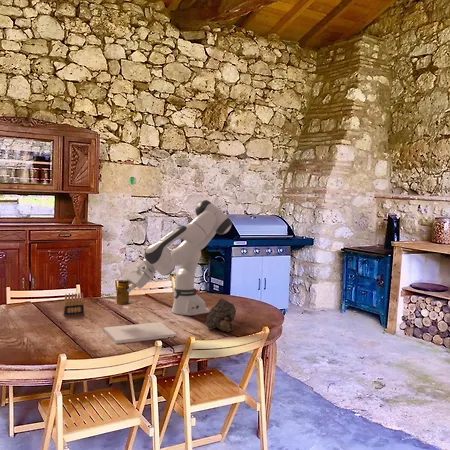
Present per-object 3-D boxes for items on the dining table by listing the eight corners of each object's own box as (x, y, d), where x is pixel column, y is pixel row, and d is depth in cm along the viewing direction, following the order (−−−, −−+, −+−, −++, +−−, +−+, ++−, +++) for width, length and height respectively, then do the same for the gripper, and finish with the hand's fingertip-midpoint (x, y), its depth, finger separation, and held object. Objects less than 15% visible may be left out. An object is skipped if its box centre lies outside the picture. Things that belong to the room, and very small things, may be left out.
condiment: (113, 303, 246) (113, 280, 245) (126, 301, 253) (127, 278, 252) (121, 306, 241) (122, 282, 241) (135, 303, 248) (136, 280, 247)
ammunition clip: (64, 315, 265) (64, 293, 264) (63, 314, 266) (63, 293, 265) (83, 313, 270) (84, 292, 269) (83, 312, 272) (83, 291, 271)
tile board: (159, 324, 255) (160, 322, 255) (176, 336, 236) (176, 333, 235) (103, 330, 240) (103, 327, 240) (116, 343, 221) (116, 340, 221)
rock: (214, 293, 260) (234, 293, 249) (228, 310, 266) (248, 311, 256) (197, 320, 249) (217, 321, 239) (212, 337, 256) (232, 339, 245)
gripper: (134, 263, 258) (116, 281, 255) (147, 269, 240) (127, 289, 236) (142, 271, 261) (124, 289, 257) (155, 277, 243) (135, 298, 239)
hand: (125, 289), depth 247 cm, fingers closed on condiment, 6 cm apart
